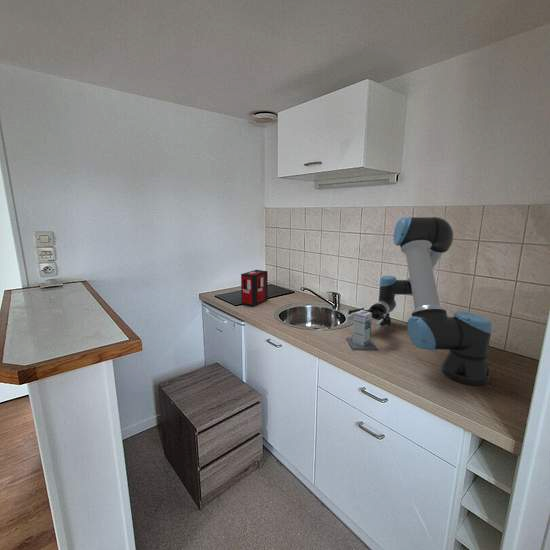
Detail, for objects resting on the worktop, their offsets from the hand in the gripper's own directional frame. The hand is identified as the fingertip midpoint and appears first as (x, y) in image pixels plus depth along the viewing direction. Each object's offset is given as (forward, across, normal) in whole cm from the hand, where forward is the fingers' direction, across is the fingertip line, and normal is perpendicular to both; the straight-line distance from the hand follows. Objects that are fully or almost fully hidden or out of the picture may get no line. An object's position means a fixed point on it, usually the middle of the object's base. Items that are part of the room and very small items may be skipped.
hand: (361, 322), depth 136 cm
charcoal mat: (0, 0, -11) cm, 11 cm away
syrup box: (0, 0, -10) cm, 10 cm away
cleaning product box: (-16, +79, -11) cm, 82 cm away
